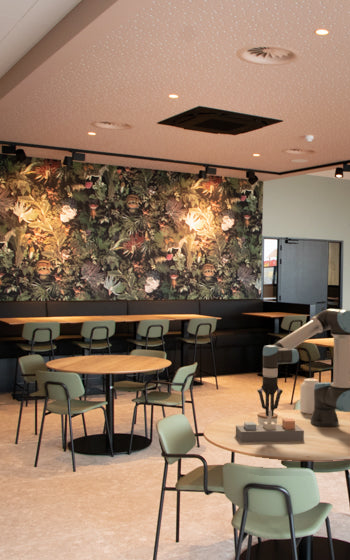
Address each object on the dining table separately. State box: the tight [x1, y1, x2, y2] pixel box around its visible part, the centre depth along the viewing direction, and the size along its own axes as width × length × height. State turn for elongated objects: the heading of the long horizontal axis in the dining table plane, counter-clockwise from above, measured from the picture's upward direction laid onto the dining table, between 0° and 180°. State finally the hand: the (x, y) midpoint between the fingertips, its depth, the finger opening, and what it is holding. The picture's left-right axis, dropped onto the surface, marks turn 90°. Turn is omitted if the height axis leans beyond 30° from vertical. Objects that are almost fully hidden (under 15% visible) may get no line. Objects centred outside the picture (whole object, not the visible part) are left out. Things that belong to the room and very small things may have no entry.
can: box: [299, 377, 319, 415], centre depth 354 cm, size 12×12×20 cm
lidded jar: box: [257, 411, 279, 425], centre depth 314 cm, size 11×11×9 cm
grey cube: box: [243, 421, 257, 430], centre depth 295 cm, size 5×5×5 cm
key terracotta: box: [281, 418, 296, 429], centre depth 297 cm, size 5×5×5 cm
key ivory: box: [263, 422, 277, 430], centre depth 296 cm, size 5×5×5 cm
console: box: [235, 424, 305, 443], centre depth 296 cm, size 32×12×5 cm, turn 97°
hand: (269, 422), depth 296 cm, fingers closed
